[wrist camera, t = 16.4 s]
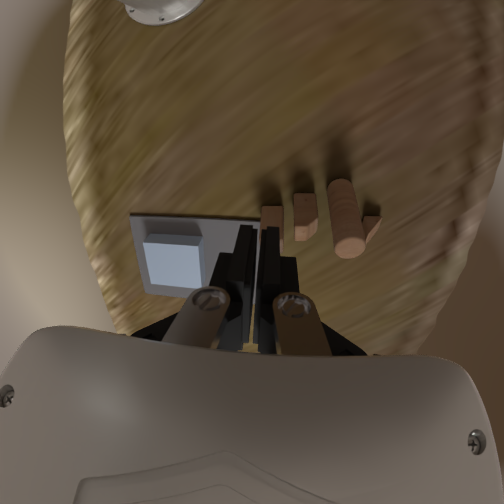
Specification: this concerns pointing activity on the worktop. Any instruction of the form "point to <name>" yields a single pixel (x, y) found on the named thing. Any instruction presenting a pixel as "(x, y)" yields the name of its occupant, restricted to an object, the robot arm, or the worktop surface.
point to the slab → (175, 260)
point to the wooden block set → (341, 213)
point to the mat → (212, 229)
